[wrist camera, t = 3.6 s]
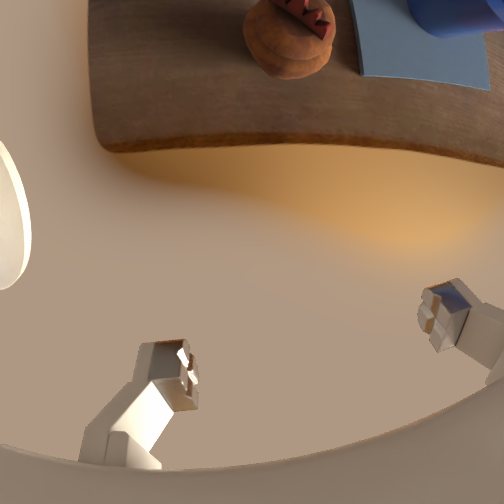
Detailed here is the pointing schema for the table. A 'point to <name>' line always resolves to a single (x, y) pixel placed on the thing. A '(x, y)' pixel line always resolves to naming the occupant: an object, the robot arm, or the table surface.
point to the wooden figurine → (290, 36)
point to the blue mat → (414, 47)
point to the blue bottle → (458, 16)
